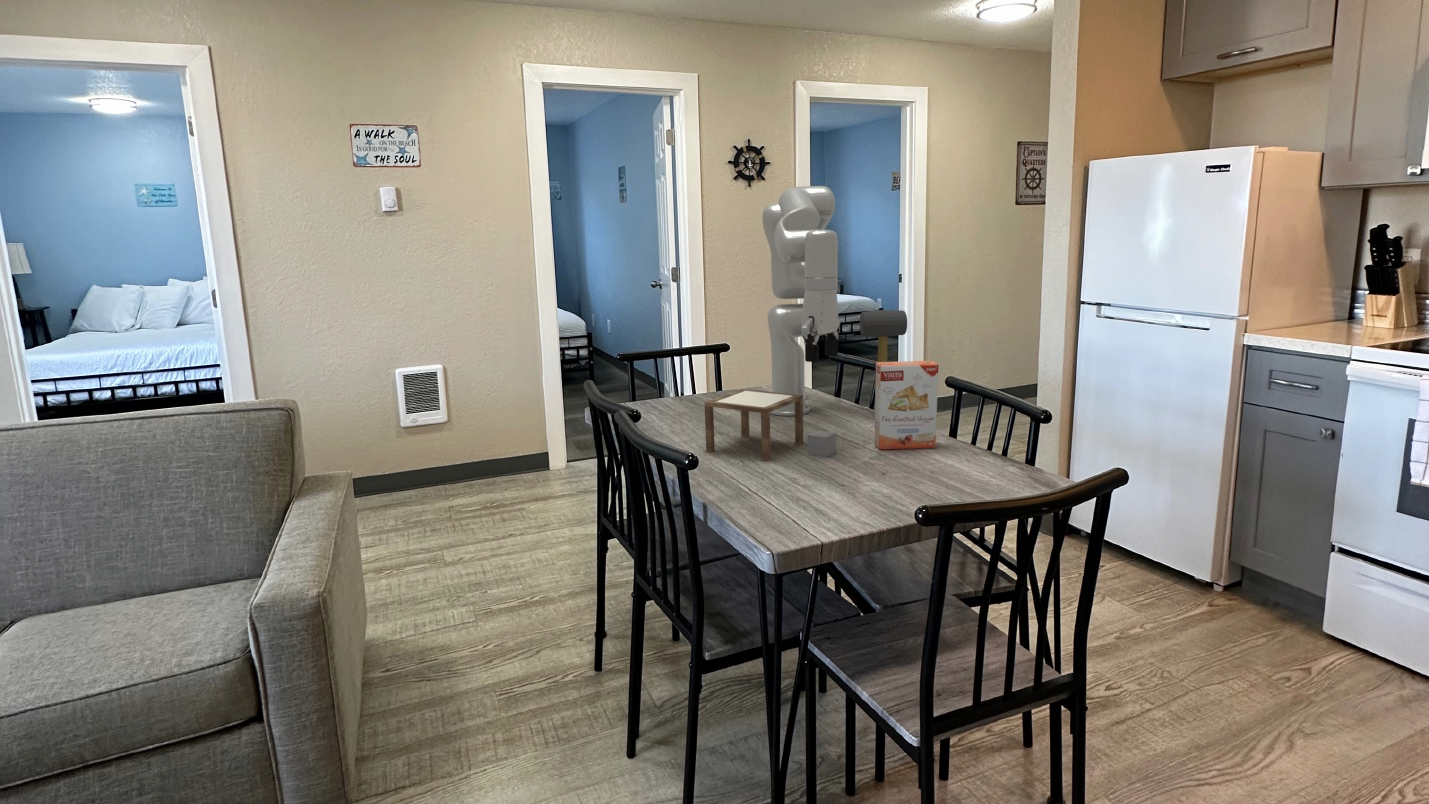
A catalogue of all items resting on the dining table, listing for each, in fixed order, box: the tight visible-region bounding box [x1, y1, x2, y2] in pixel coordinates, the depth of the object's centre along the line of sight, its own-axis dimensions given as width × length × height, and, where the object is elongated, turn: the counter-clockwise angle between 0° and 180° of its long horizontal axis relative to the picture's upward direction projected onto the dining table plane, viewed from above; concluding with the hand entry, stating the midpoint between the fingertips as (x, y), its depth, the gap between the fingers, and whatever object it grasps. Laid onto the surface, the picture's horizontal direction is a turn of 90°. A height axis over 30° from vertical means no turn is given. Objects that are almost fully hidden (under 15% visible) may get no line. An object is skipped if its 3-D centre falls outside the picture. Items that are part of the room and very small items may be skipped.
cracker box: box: [874, 360, 939, 450], centre depth 197 cm, size 14×6×21 cm, turn 91°
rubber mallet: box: [859, 309, 908, 362], centre depth 228 cm, size 12×8×30 cm, turn 90°
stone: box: [807, 430, 837, 458], centre depth 195 cm, size 5×5×5 cm
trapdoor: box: [716, 391, 792, 407], centre depth 200 cm, size 14×14×1 cm
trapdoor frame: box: [704, 388, 804, 462], centre depth 201 cm, size 18×18×12 cm
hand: (821, 358), depth 190 cm, fingers open, 9 cm apart
